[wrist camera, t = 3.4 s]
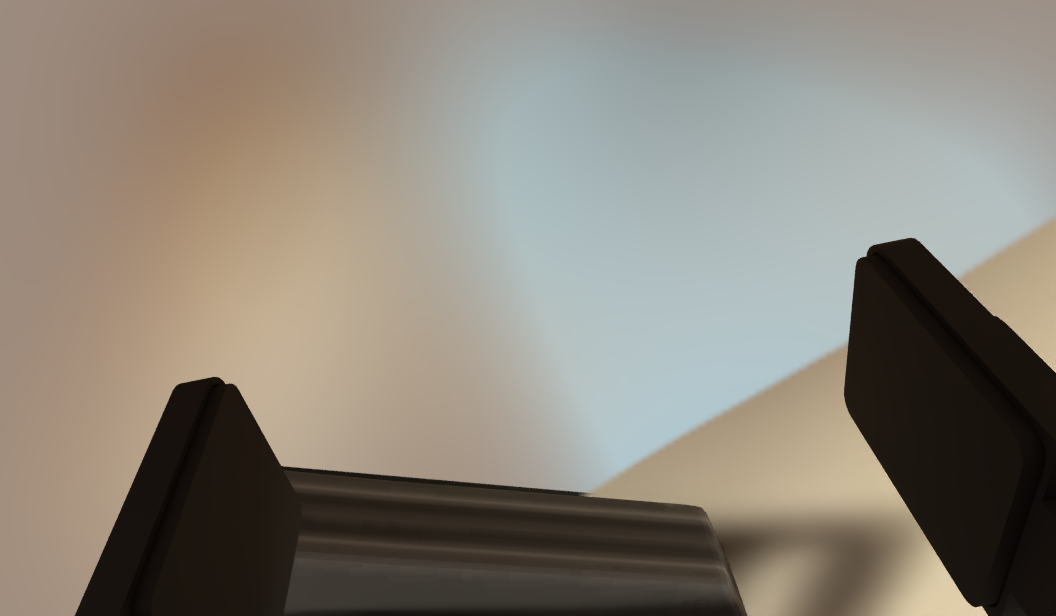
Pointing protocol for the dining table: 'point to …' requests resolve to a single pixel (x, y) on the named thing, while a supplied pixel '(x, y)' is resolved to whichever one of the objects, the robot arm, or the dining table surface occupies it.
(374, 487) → the zipper pull
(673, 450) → the dining table surface
